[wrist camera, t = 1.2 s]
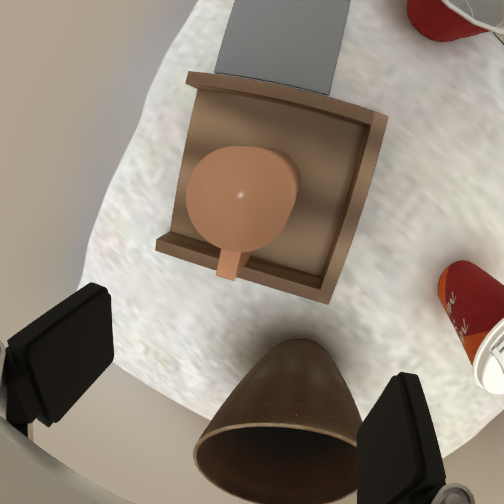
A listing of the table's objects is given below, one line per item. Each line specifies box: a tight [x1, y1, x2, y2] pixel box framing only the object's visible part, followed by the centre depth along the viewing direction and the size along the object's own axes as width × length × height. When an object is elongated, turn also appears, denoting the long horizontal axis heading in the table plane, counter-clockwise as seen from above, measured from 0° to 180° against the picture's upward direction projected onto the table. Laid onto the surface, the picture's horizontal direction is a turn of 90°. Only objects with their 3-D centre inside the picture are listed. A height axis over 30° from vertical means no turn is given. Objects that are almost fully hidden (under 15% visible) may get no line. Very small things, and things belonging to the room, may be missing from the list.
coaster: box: [214, 0, 350, 95], centre depth 23 cm, size 11×11×1 cm
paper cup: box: [438, 261, 504, 394], centre depth 21 cm, size 8×8×14 cm
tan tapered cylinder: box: [186, 146, 301, 281], centre depth 24 cm, size 9×6×11 cm
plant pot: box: [193, 339, 363, 504], centre depth 27 cm, size 15×15×16 cm
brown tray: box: [155, 71, 388, 304], centre depth 27 cm, size 17×17×4 cm
